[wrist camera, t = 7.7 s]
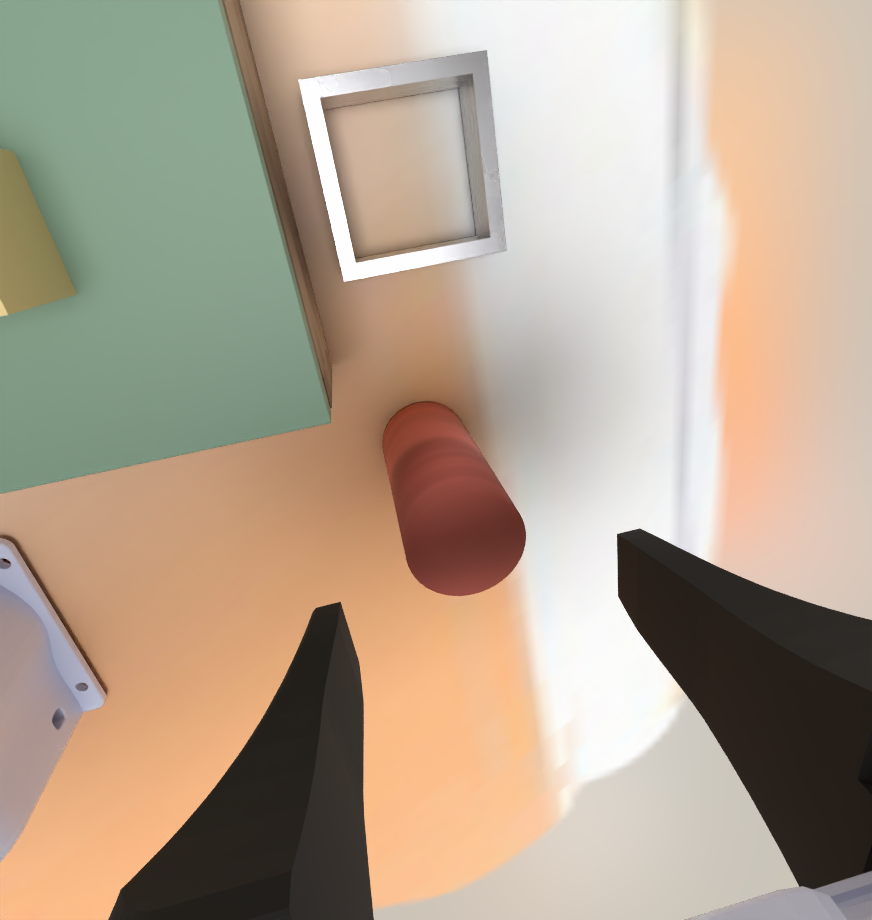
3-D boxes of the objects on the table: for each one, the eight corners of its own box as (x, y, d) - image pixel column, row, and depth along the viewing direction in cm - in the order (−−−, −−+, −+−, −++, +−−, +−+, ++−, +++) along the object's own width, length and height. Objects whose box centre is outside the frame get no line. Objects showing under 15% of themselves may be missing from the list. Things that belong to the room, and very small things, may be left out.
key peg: (470, 470, 24) (530, 580, 17) (391, 488, 23) (417, 607, 16) (459, 394, 22) (520, 478, 15) (374, 412, 22) (394, 507, 15)
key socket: (490, 247, 20) (506, 250, 18) (343, 275, 20) (343, 281, 18) (471, 67, 18) (486, 50, 16) (301, 94, 17) (298, 80, 15)
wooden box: (331, 366, 21) (331, 408, 16) (-47, 444, 20) (-159, 512, 15) (231, -29, 16) (189, -129, 11) (-293, 43, 14) (-576, -36, 10)
